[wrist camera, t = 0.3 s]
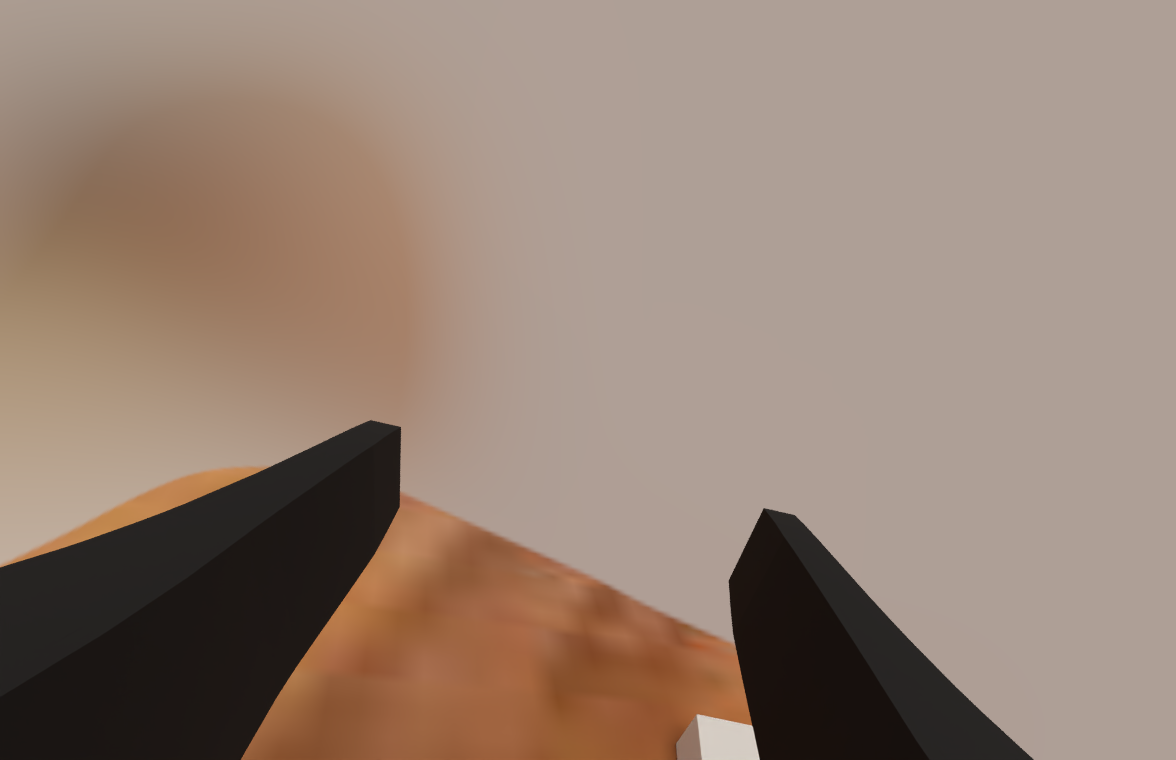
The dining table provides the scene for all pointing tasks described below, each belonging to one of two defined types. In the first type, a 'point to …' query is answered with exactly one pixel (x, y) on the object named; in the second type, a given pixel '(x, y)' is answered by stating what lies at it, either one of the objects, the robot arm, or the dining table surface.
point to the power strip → (717, 740)
